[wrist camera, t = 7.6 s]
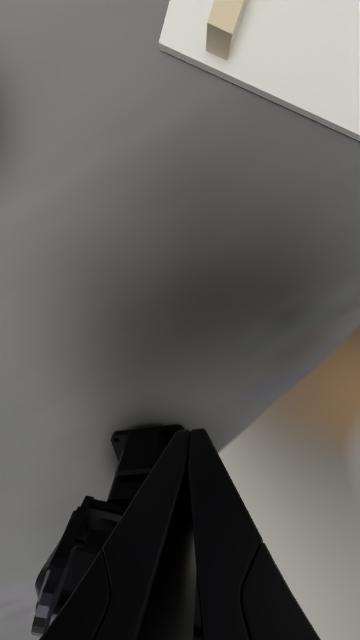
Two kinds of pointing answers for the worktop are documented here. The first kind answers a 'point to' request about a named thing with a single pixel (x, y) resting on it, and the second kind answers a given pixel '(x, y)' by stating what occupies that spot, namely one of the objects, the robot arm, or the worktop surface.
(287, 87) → the base plate with rails
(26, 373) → the worktop surface
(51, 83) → the worktop surface
